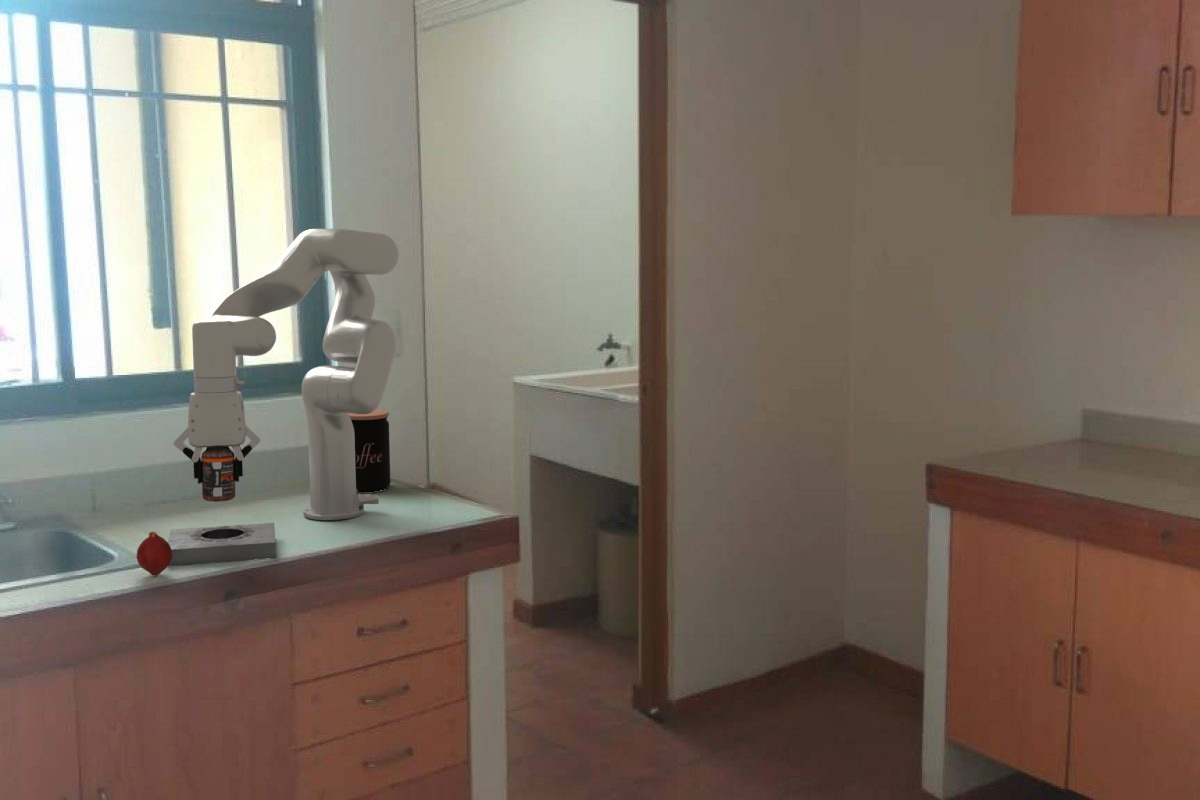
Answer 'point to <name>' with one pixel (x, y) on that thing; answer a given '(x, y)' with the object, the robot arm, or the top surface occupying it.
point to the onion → (154, 554)
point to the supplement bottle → (218, 474)
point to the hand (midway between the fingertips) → (218, 480)
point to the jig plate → (222, 543)
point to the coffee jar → (371, 450)
